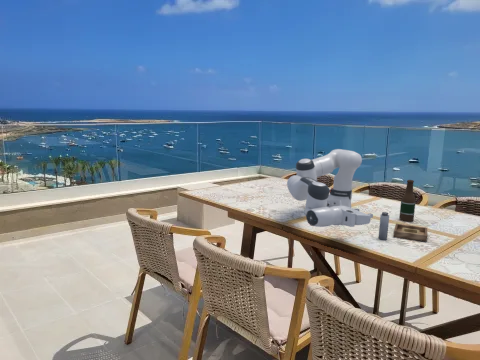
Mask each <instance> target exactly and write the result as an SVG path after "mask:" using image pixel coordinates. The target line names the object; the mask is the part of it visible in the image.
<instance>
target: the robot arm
mask: <svg viewBox="0 0 480 360" xmlns="http://www.w3.org/2000/svg"><path fill="white" fill-rule="evenodd" d="M362 162H363V158H362V156H361V154H360V153H358V152H356V151H354V150H348V149H341V148H335V149H332V150H331V151H330V152H329V153H327V154H325V155H323V156H320V157H316V158H313V159H310V158H301V159H299V160H298V161H297V162H296V163H295V169H296V170H295V171H296V175H295V174H294V175H292V176H290V177H289V178H288V179H287V182H286V185H287V191H288V192H289V194H290V195H291V197H292V198H293V199H295V200H296V201H300V202H301V201H305V207H304V216H305V218H306V222H307V223H308V225H310V226H312V227H315V228H316V227H317V228H318V227H319V228H321V227H324V228H325V227H330V226H346V227H350V228H354V227H355V226H363V225H368V224H370V223H371V220H372V218H374V214H373V213H366V212H363V211H361V210H360V209H359V208H353V207H352V196H353V189H352V188H353V179H354V175H355V173H356V170H357V169H358V168H360V167H361V165H362ZM336 169H338V171H337V173H336V174H335V175H334V177H333V186H332V188H330V187H329V186H328V185H327V183H324V182H319V181H318V178H319V177H322V176H325V175H328V174H332V173H333V172H334V170H336Z"/></svg>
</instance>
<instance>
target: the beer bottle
mask: <svg viewBox="0 0 480 360" xmlns="http://www.w3.org/2000/svg"><path fill="white" fill-rule="evenodd" d="M414 183H415V180H412V179H407V180H406V189H405V193H404V194H403V195H402V197H401V200H400V207H399V219H398V220H399V221H401V222H404V223H405V222H406V223H412V222H413V221H414V218H415V210H416V203H417V202H416V196H415V194H414Z"/></svg>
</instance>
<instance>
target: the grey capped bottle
mask: <svg viewBox="0 0 480 360" xmlns="http://www.w3.org/2000/svg"><path fill="white" fill-rule="evenodd" d="M389 223H390V215H389V213H388V212H386V211H382V213H381V214H380V219H379V227H378V236H377V237H378V240H381V241H387V240H388V233H389Z"/></svg>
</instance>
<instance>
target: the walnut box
mask: <svg viewBox="0 0 480 360" xmlns="http://www.w3.org/2000/svg"><path fill="white" fill-rule="evenodd" d="M393 238H396V239H397V238H398V239H403V240H410V241H417V242H421V243H422V242H423V243H427V242H428V227H424V226H423V227H422V226H416V225H409V224H402V223H395V225H394V229H393Z"/></svg>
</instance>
